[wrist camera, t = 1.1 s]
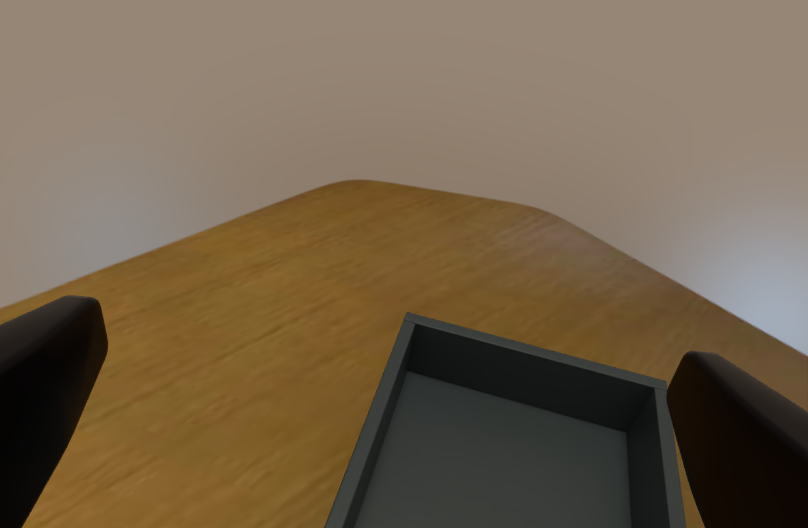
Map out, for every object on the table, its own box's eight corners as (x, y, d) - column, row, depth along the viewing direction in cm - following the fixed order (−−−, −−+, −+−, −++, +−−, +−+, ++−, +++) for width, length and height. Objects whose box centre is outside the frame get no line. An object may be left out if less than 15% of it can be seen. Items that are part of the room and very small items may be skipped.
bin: (655, 736, 18) (710, 704, 16) (308, 614, 20) (308, 568, 17) (634, 432, 28) (666, 380, 25) (398, 365, 29) (406, 311, 27)
